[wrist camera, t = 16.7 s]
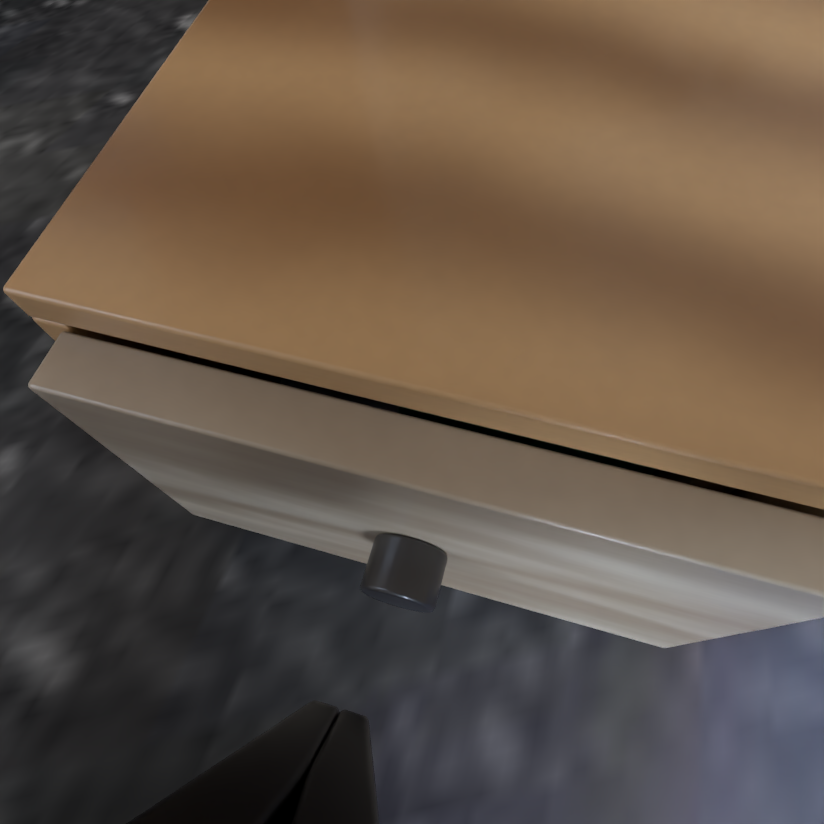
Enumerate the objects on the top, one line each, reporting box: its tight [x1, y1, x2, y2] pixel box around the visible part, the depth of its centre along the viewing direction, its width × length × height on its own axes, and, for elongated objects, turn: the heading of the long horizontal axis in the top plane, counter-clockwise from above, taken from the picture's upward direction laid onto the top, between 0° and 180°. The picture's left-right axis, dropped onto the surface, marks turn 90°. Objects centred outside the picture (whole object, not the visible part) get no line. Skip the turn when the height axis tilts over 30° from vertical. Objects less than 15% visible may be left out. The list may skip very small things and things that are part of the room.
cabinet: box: [3, 0, 824, 517], centre depth 16 cm, size 17×15×10 cm
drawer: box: [28, 331, 824, 648], centre depth 15 cm, size 17×13×8 cm
